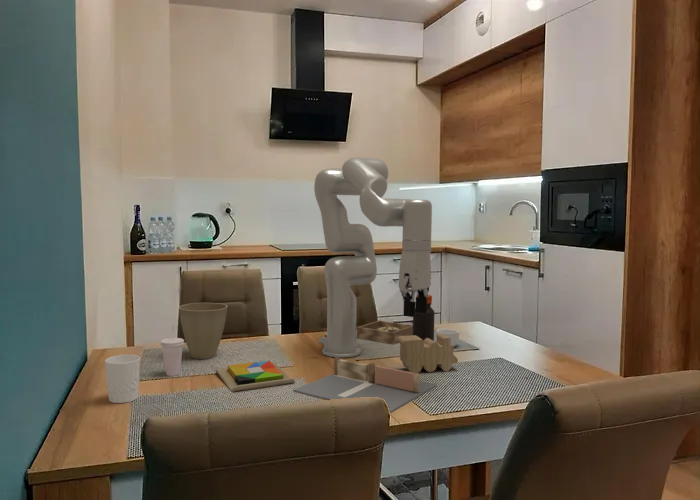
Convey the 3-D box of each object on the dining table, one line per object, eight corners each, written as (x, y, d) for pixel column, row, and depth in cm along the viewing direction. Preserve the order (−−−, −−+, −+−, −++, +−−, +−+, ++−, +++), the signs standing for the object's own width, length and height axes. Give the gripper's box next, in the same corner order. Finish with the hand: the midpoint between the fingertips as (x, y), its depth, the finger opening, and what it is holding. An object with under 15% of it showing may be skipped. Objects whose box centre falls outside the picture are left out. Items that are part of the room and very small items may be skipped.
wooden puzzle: (232, 395, 142) (232, 381, 142) (214, 375, 158) (214, 362, 158) (296, 385, 150) (296, 372, 150) (272, 367, 167) (272, 355, 166)
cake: (368, 339, 203) (368, 325, 203) (385, 335, 211) (385, 321, 211) (389, 342, 197) (389, 327, 196) (406, 338, 204) (406, 323, 204)
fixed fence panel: (376, 382, 150) (376, 364, 150) (372, 384, 149) (372, 365, 148) (336, 373, 158) (336, 356, 157) (332, 375, 156) (333, 357, 156)
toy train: (457, 370, 163) (458, 337, 162) (402, 374, 159) (403, 340, 158) (449, 365, 169) (450, 333, 168) (396, 369, 164) (397, 335, 164)
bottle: (427, 354, 181) (429, 293, 179) (437, 359, 175) (438, 296, 173) (408, 355, 179) (409, 294, 177) (417, 361, 172) (419, 297, 171)
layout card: (293, 391, 143) (293, 389, 143) (350, 367, 165) (350, 366, 165) (386, 415, 127) (386, 413, 127) (436, 385, 149) (436, 384, 149)
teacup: (463, 347, 190) (463, 332, 189) (444, 350, 187) (444, 334, 186) (446, 341, 199) (447, 326, 199) (428, 343, 196) (428, 328, 195)
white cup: (112, 393, 140) (111, 354, 139) (144, 393, 141) (143, 354, 140) (101, 404, 132) (100, 363, 132) (135, 404, 133) (134, 363, 132)
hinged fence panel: (374, 383, 148) (374, 366, 148) (377, 381, 150) (377, 365, 149) (417, 392, 141) (417, 375, 141) (420, 391, 142) (420, 373, 142)
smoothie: (189, 372, 159) (188, 323, 158) (175, 378, 153) (174, 328, 152) (170, 369, 161) (169, 322, 160) (156, 376, 155) (155, 326, 154)
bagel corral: (356, 338, 202) (356, 327, 202) (378, 330, 215) (379, 320, 215) (393, 344, 194) (393, 333, 193) (414, 336, 206) (414, 325, 206)
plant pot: (204, 365, 166) (203, 312, 165) (169, 357, 174) (168, 307, 172) (237, 353, 179) (237, 305, 178) (203, 347, 186) (203, 300, 185)
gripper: (419, 244, 155) (417, 308, 156) (387, 247, 141) (386, 317, 142) (443, 245, 151) (442, 311, 152) (413, 249, 137) (412, 321, 138)
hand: (415, 313), depth 147 cm, fingers open, 5 cm apart
